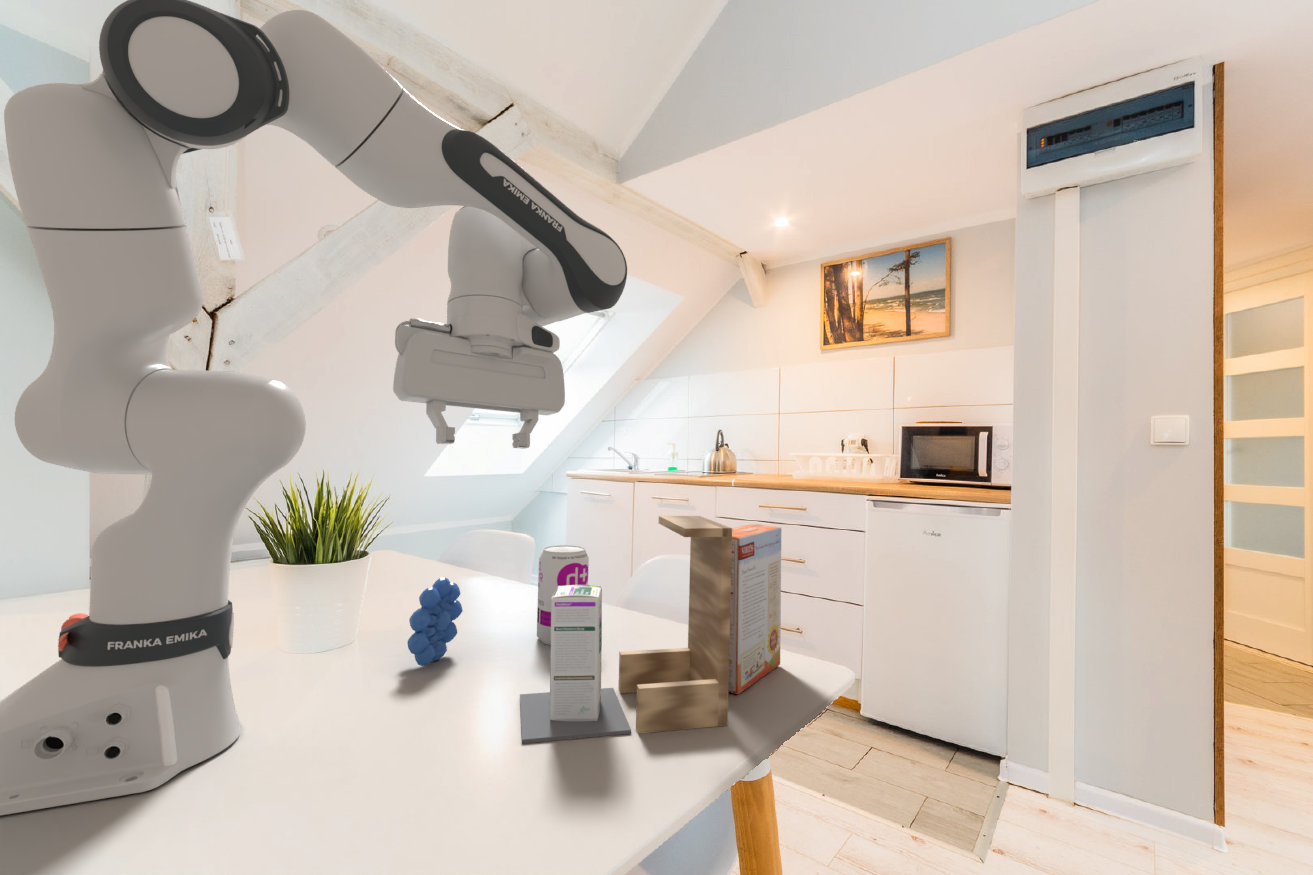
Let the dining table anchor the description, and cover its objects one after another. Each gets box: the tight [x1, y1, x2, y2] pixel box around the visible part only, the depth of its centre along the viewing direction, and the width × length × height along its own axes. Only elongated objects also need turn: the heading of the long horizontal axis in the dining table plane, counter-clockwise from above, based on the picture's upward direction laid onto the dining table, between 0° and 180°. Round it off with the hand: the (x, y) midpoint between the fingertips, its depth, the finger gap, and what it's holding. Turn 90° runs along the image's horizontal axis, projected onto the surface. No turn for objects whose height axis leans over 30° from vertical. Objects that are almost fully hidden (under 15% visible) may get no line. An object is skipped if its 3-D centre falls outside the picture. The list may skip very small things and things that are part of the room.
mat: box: [519, 687, 632, 744], centre depth 72 cm, size 12×12×1 cm
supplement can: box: [536, 544, 590, 646], centre depth 100 cm, size 8×8×15 cm
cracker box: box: [728, 523, 782, 695], centre depth 86 cm, size 14×6×21 cm, turn 145°
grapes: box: [407, 576, 464, 667], centre depth 88 cm, size 12×7×12 cm, turn 167°
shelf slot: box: [617, 515, 733, 734], centre depth 75 cm, size 11×12×23 cm
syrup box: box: [549, 584, 603, 721], centre depth 72 cm, size 6×6×14 cm
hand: (484, 445), depth 70 cm, fingers open, 8 cm apart
